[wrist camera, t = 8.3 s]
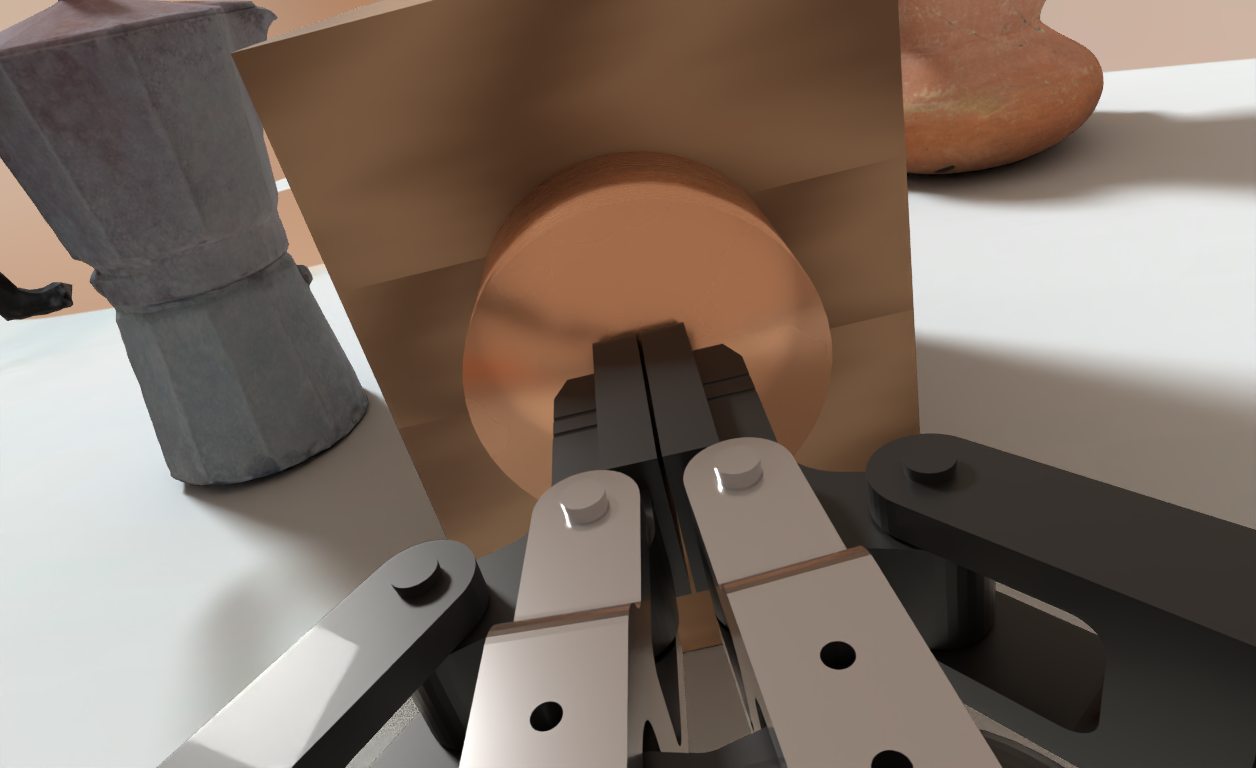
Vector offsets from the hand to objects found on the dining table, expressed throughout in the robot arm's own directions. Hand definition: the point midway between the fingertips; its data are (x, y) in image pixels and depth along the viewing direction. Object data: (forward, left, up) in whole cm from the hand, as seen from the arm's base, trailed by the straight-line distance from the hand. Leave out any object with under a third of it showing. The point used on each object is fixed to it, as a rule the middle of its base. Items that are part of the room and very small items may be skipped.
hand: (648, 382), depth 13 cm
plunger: (0, +11, -3) cm, 11 cm away
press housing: (0, +12, -10) cm, 16 cm away
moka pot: (-18, +20, -10) cm, 29 cm away
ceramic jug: (+20, +36, -10) cm, 43 cm away
